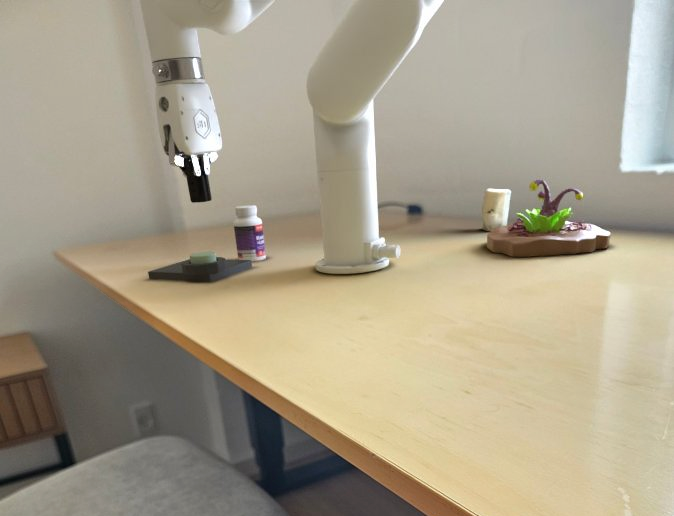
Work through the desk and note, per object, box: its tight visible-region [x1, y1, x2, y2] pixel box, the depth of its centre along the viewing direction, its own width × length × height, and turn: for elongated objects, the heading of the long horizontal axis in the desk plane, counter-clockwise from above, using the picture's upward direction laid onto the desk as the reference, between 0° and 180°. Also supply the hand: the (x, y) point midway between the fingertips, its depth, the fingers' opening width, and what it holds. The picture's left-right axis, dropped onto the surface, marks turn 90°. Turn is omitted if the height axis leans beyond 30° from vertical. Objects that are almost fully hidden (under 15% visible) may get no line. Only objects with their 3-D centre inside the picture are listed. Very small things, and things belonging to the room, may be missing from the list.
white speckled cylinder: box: [481, 188, 512, 232], centre depth 136 cm, size 6×5×8 cm
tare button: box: [189, 251, 217, 264], centre depth 112 cm, size 4×4×2 cm
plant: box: [486, 179, 611, 258], centre depth 115 cm, size 20×20×11 cm
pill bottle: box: [233, 204, 267, 262], centre depth 125 cm, size 5×5×10 cm
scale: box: [147, 256, 253, 283], centre depth 116 cm, size 15×13×3 cm
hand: (201, 201), depth 109 cm, fingers closed
